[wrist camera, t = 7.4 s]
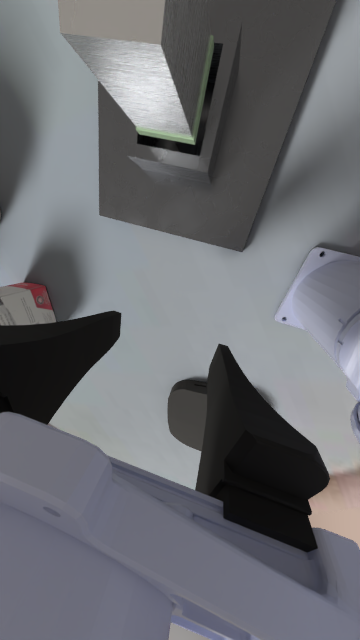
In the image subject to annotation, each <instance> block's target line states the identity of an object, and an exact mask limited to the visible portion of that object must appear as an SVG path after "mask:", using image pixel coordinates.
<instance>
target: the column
mask: <svg viewBox="0 0 360 640" xmlns="http://www.w3.org/2000/svg"><path fill="white" fill-rule="evenodd" d="M58 7H59V21H60V33H61V34H62V36H63V37H64V38H65V39H66V40H67V42H68V43H69V44H70V45H71V47H72V48H73V49H74V50H75V52H76V53H77V54H78V55H79V57H80V58H81V59H82V60H83V61H84V63H85V64H86V65H87V66H88V68H89V69H90V70H91V71H92V73H93V74H94V75H95V76H96V78H97V79H98V80H99V81H100V83H101V84H102V85H103V86H104V87H105V89H106V90H107V91H108V92H109V94H110V95H111V96H112V97H113V99H114V100H115V101H116V102H117V104H118V105H119V106H120V107H121V108H122V110H123V111H124V112H125V113H126V115H127V116H128V117H129V118H130V120H131V121H132V122H133V123H134V125H135V126H136V131H137V132H138V133H139V134H140V135H146V136H151V137H156V138H162V139H167V140H172V141H177V142H183V143H188V144H193V145H195V143H196V138H197V133H198V128H199V122H200V117H201V112H202V107H203V102H204V96H205V91H206V86H207V81H208V76H209V70H210V65H211V60H212V55H213V49H214V38H213V35H211V33H210V20H209V8H208V0H58Z"/></svg>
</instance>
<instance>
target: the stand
mask: <svg viewBox="0 0 360 640" xmlns="http://www.w3.org/2000/svg"><path fill="white" fill-rule="evenodd" d="M335 3H336V0H208V8H209V20H210V33H211V35H213V38H214V49H213V55H212V60H211V65H210V70H209V76H208V81H207V86H206V91H205V96H204V102H203V107H202V112H201V117H200V122H199V128H198V133H197V138H196V143H195V145H193V144H188V143H183V142H177V141H172V140H167V139H162V138H156V137H151V136H146V135H140V134H139V133H138V132H137V131H136V126H135V125H134V123H133V122H132V121H131V120H130V118H129V117H128V116H127V115H126V113H125V112H124V111H123V110H122V108H121V107H120V106H119V105H118V104H117V102H116V101H115V100H114V99H113V97H112V96H111V95H110V94H109V92H108V91H107V90H106V89H105V87H104V86H103V85H102V84H101V83H100V81H99V80H98V106H99V215H101V216H105V217H108V218H112V219H116V220H120V221H124V222H128V223H132V224H135V225H139V226H143V227H147V228H151V229H155V230H158V231H162V232H166V233H170V234H174V235H178V236H182V237H185V238H189V239H193V240H197V241H201V242H205V243H209V244H212V245H216V246H220V247H224V248H228V249H232V250H236V251H239V252H242V251H243V249H244V246H245V243H246V241H247V238H248V235H249V233H250V230H251V227H252V225H253V222H254V219H255V217H256V214H257V211H258V209H259V206H260V203H261V201H262V198H263V195H264V193H265V190H266V187H267V185H268V182H269V179H270V177H271V174H272V171H273V168H274V166H275V163H276V160H277V158H278V155H279V152H280V150H281V147H282V144H283V142H284V139H285V136H286V134H287V131H288V128H289V126H290V123H291V120H292V118H293V115H294V112H295V110H296V107H297V104H298V102H299V99H300V96H301V94H302V91H303V88H304V86H305V83H306V80H307V78H308V75H309V72H310V70H311V67H312V64H313V62H314V59H315V56H316V53H317V51H318V48H319V45H320V43H321V40H322V37H323V35H324V32H325V29H326V27H327V24H328V21H329V19H330V16H331V13H332V11H333V8H334V5H335Z"/></svg>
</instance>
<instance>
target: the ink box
mask: <svg viewBox="0 0 360 640" xmlns="http://www.w3.org/2000/svg"><path fill="white" fill-rule="evenodd" d="M54 322H56V318H55V315H54V312H53V309H52V306H51V303H50V300H49V297H48V293H47V290H46V287H45V286H44V285H40V284H34V283H18V284H13V285H8V286H3V287H0V325H32V324H45V323H54Z"/></svg>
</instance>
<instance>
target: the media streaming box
mask: <svg viewBox="0 0 360 640" xmlns="http://www.w3.org/2000/svg"><path fill="white" fill-rule="evenodd" d="M207 387H208V383H206V382H199V381H192V380H183V381H179V382H177V383H176V384H175V385H174V386H173V388H172V390H171V393H170V395H169V398H168V424H169V429H170V432H171V434H172V435H173V436H174V437H175V438H176V439H178V440H179V441H180V442H182V443H183V444H185V445H187V446H189V447H192V448H194V449H197V450H199V451H202V445H203V438H204V431H205V423H206V415H207Z"/></svg>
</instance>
